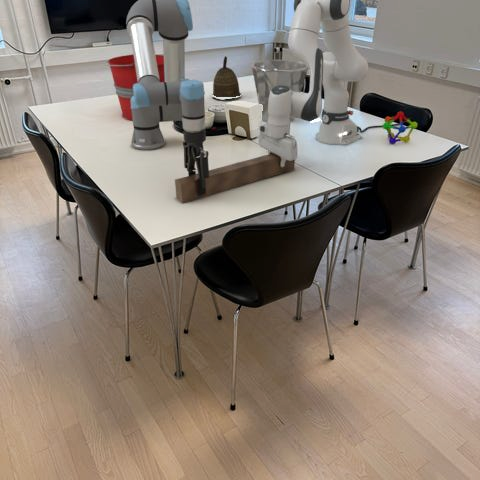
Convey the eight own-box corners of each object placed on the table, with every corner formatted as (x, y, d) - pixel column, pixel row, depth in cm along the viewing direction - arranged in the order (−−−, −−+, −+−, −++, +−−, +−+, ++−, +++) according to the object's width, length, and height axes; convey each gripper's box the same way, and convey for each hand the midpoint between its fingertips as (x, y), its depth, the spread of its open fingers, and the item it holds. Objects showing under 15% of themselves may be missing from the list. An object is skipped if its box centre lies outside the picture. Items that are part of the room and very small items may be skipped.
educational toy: (377, 146, 209) (379, 114, 202) (384, 138, 219) (386, 107, 211) (411, 149, 202) (415, 116, 195) (417, 141, 212) (420, 109, 204)
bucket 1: (122, 105, 263) (114, 51, 248) (180, 106, 263) (177, 52, 247) (105, 123, 234) (95, 63, 218) (171, 124, 233) (166, 64, 217)
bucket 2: (277, 130, 226) (280, 73, 211) (239, 117, 245) (239, 64, 230) (315, 118, 243) (320, 65, 228) (277, 107, 261) (279, 57, 247)
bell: (227, 105, 294) (202, 96, 282) (238, 66, 289) (213, 55, 277) (243, 108, 280) (217, 98, 268) (255, 66, 275) (229, 55, 263)
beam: (182, 203, 157) (181, 184, 153) (176, 198, 160) (174, 179, 156) (294, 169, 182) (295, 152, 178) (287, 166, 185) (288, 149, 181)
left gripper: (218, 134, 144) (220, 198, 156) (190, 120, 157) (193, 180, 169) (199, 139, 140) (202, 204, 153) (171, 123, 153) (176, 184, 166)
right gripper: (302, 136, 165) (300, 170, 173) (268, 122, 179) (267, 154, 187) (289, 139, 162) (287, 174, 169) (256, 125, 176) (255, 157, 184)
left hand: (197, 191), depth 161 cm, fingers open, 6 cm apart
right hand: (276, 163), depth 178 cm, fingers closed on beam, 5 cm apart
